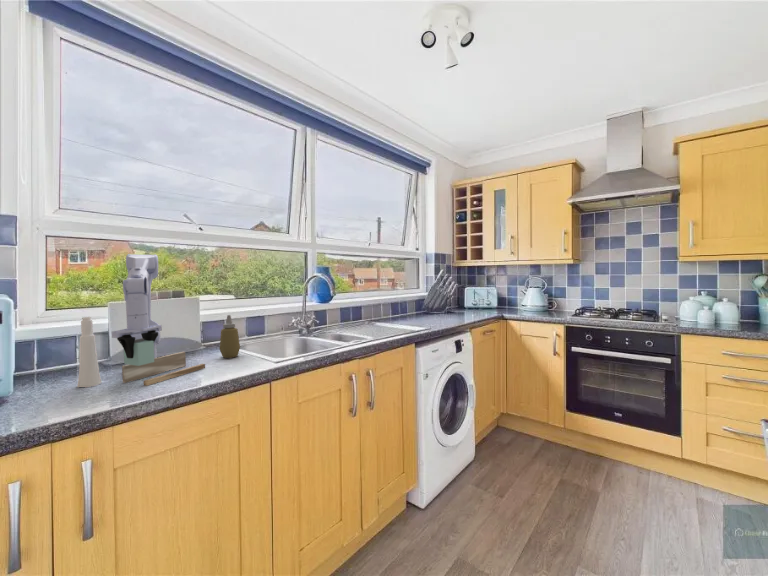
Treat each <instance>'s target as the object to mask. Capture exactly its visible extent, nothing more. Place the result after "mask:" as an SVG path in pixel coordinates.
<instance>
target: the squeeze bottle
mask: <svg viewBox="0 0 768 576" xmlns="http://www.w3.org/2000/svg"><path fill="white" fill-rule="evenodd" d="M222 327H223V328H222V329H221V330H220V340H219V351H220V354H221V355H222V358H223V359H231V358H236V357H238V356H239V352H240V350H241V344H240V338H239V330H238V328H236V323H235V322H233V320H232V316H231V314H228V315H226V320H225V323H223V324H222Z"/></svg>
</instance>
